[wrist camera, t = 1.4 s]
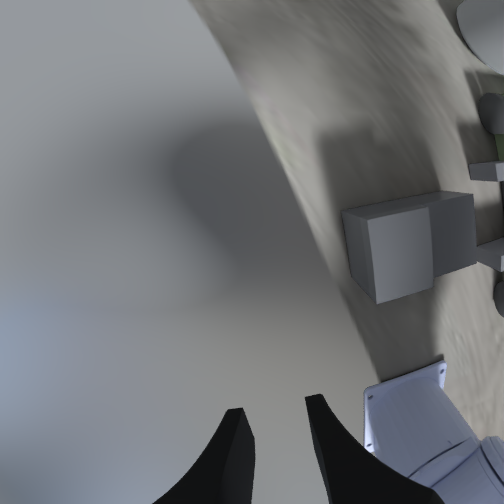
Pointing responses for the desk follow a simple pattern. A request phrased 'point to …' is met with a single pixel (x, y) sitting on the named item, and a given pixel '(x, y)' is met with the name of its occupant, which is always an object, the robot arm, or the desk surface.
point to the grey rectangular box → (409, 242)
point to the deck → (500, 124)
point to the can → (484, 30)
